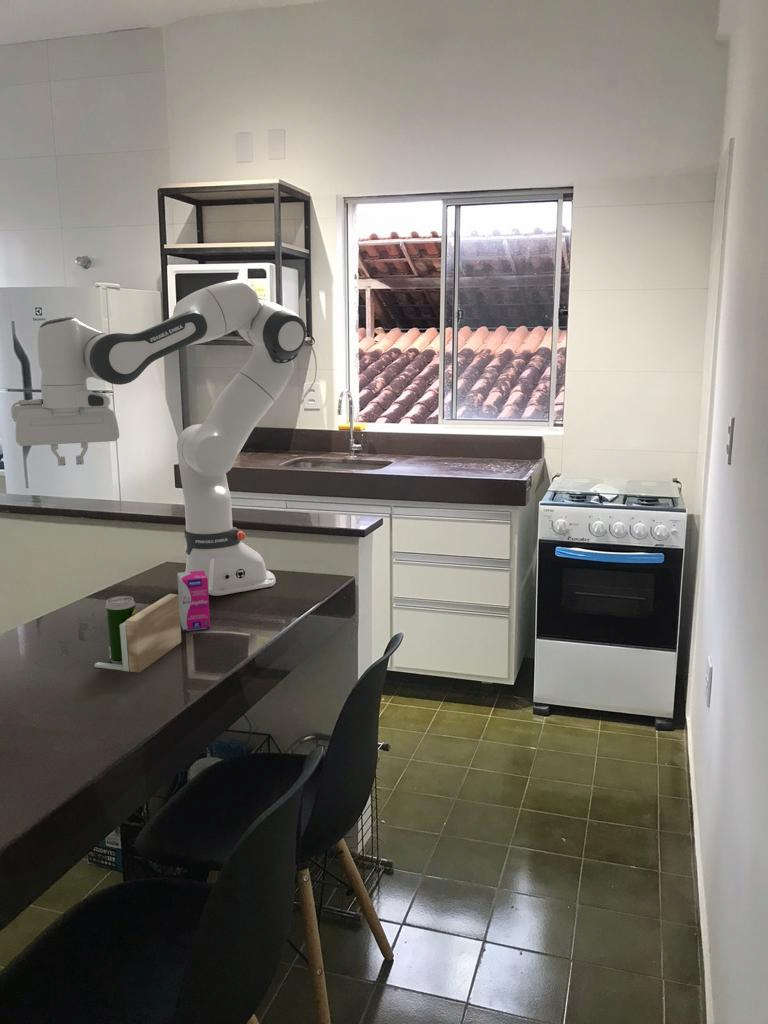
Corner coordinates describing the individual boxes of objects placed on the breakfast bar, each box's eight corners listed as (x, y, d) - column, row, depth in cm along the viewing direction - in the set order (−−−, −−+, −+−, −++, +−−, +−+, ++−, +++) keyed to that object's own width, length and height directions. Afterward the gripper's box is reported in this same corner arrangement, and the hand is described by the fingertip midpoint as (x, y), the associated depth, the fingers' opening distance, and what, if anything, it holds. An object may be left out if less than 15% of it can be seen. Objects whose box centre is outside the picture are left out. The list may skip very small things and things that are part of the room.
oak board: (129, 671, 156) (125, 620, 154) (172, 640, 171) (169, 593, 169) (139, 672, 156) (135, 621, 153) (181, 641, 171) (178, 594, 169)
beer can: (113, 667, 158) (108, 606, 156) (107, 657, 163) (102, 598, 160) (142, 661, 161) (137, 601, 158) (135, 652, 165) (130, 593, 163)
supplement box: (182, 632, 176) (179, 579, 173) (179, 623, 181) (176, 572, 179) (210, 629, 178) (208, 577, 175) (206, 620, 183) (204, 569, 181)
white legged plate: (94, 667, 158) (90, 622, 156) (123, 648, 167) (120, 605, 165) (128, 671, 156) (125, 625, 154) (156, 651, 166) (153, 608, 164)
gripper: (9, 401, 167) (16, 470, 170) (117, 397, 174) (122, 464, 177) (11, 399, 173) (18, 465, 176) (115, 395, 180) (120, 459, 183)
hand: (71, 464), depth 177 cm, fingers open, 2 cm apart
